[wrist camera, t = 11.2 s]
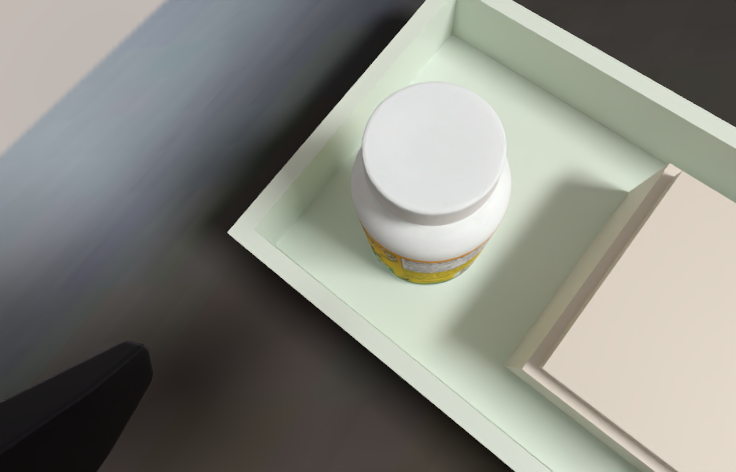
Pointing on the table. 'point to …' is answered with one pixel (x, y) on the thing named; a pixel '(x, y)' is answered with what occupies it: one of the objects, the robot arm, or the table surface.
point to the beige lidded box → (648, 330)
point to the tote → (517, 229)
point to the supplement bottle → (431, 181)
